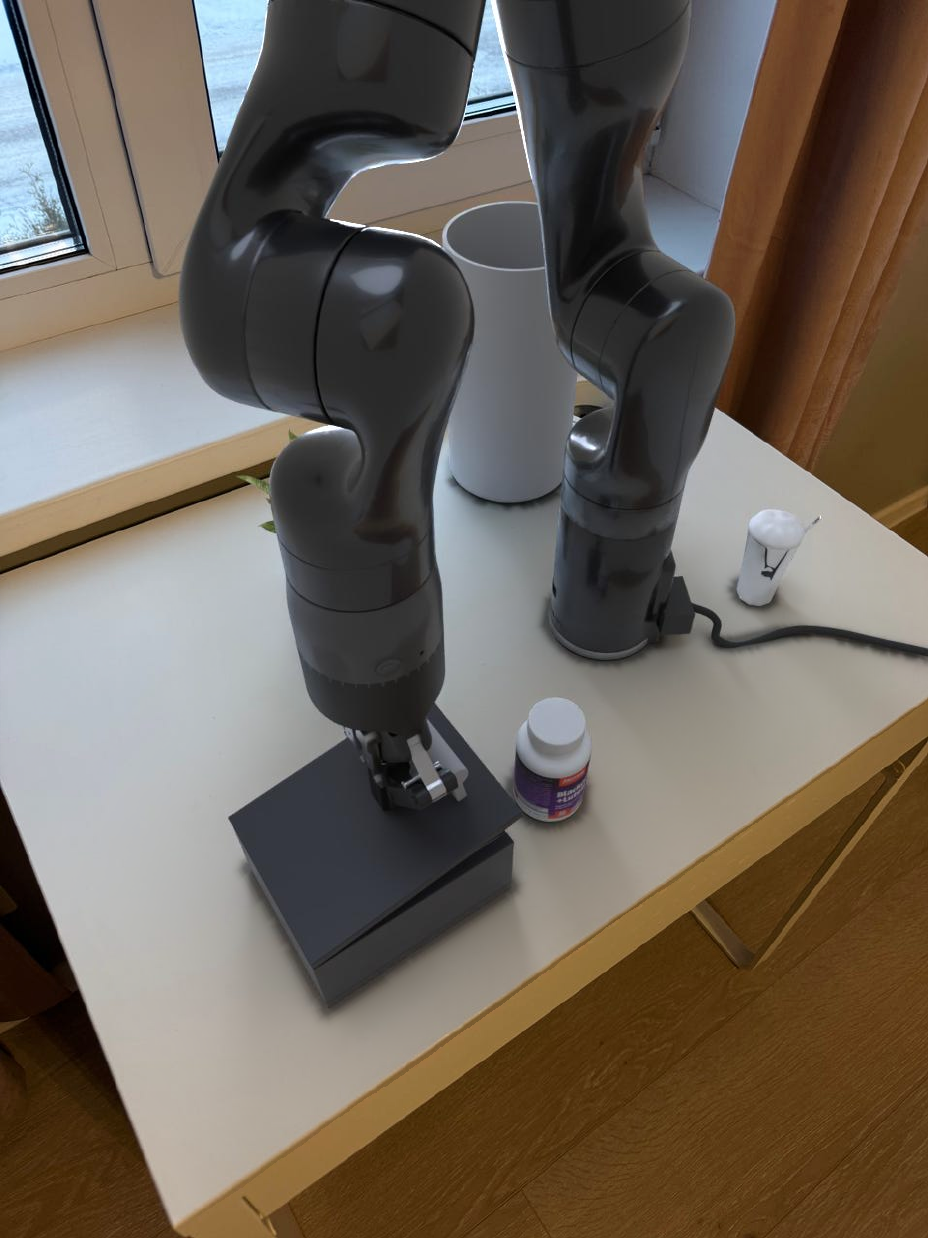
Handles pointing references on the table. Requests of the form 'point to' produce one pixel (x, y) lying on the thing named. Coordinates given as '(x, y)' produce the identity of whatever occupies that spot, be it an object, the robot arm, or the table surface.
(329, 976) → the dark grey rectangular box
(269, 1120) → the table surface
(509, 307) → the cylinder vase
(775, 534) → the milkshake
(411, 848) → the lid
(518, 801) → the pill bottle
